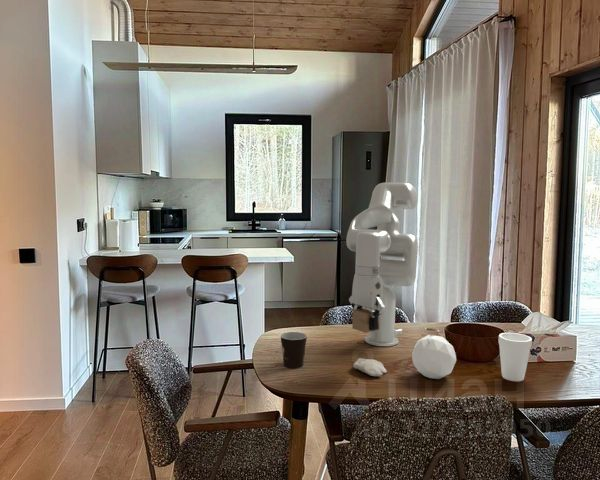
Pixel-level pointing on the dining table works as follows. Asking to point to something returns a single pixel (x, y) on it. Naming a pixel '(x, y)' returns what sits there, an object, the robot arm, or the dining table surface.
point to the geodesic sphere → (434, 356)
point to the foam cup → (514, 355)
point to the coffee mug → (293, 349)
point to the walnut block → (362, 320)
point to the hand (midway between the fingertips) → (365, 326)
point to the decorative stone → (370, 367)
